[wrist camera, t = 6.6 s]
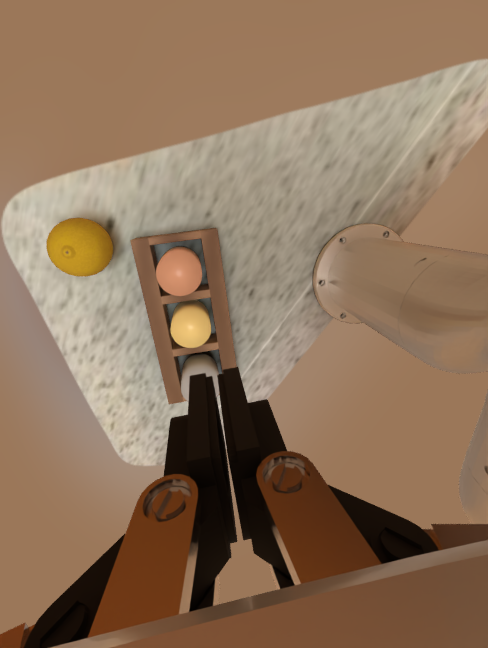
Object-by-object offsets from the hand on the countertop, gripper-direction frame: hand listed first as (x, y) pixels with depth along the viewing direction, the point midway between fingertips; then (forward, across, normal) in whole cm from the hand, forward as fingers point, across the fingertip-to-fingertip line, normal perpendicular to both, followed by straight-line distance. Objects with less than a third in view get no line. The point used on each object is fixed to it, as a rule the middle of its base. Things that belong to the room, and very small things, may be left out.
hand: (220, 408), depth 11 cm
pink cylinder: (+26, +2, -1) cm, 26 cm away
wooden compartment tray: (+28, +2, +6) cm, 29 cm away
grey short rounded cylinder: (+26, +2, +12) cm, 29 cm away
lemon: (+29, +11, -4) cm, 31 cm away
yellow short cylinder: (+28, +2, +6) cm, 29 cm away
